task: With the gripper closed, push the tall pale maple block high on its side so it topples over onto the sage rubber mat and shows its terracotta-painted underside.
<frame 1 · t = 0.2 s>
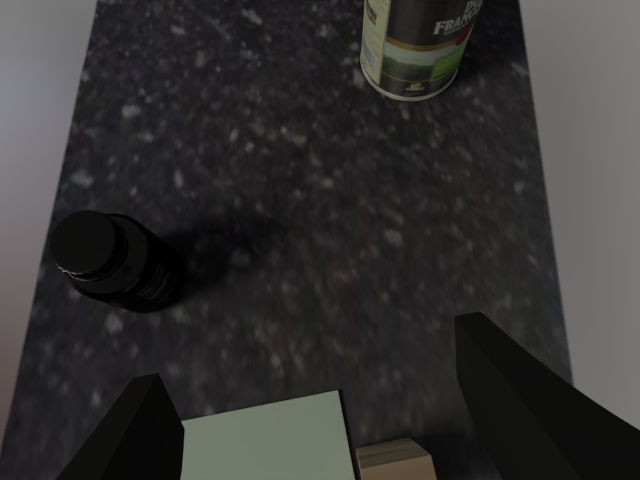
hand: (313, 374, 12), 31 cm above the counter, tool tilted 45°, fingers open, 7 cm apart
coffee can: (408, 60, 50), on the counter
maple block: (388, 471, 39), on the counter
supplement bottle: (150, 278, 45), on the counter
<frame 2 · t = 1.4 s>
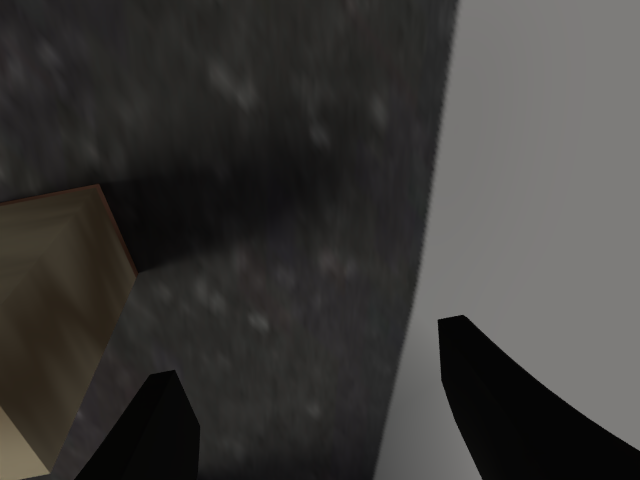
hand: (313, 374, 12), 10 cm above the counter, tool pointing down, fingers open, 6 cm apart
maple block: (68, 240, 21), on the counter
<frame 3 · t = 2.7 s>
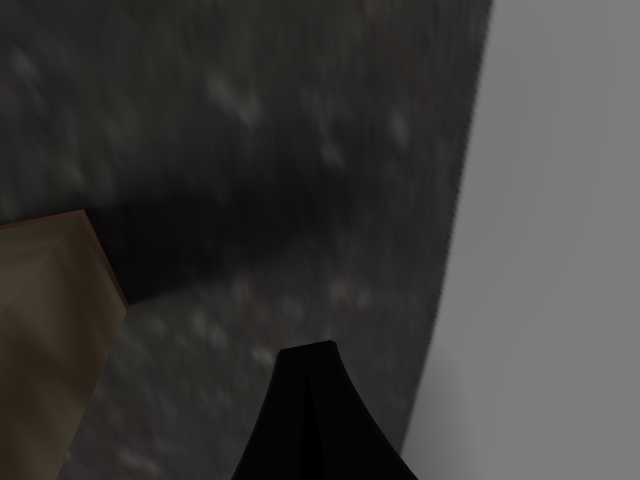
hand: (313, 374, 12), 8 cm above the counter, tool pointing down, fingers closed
maple block: (51, 271, 19), on the counter
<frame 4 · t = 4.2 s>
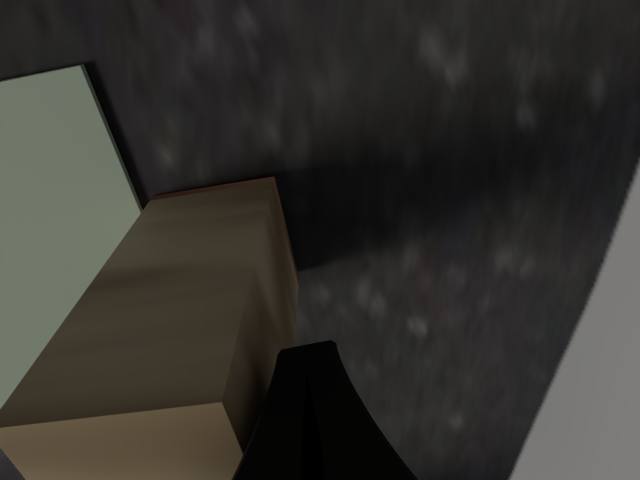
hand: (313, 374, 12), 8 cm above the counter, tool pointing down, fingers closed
maple block: (229, 239, 18), on the counter, tilted 6°
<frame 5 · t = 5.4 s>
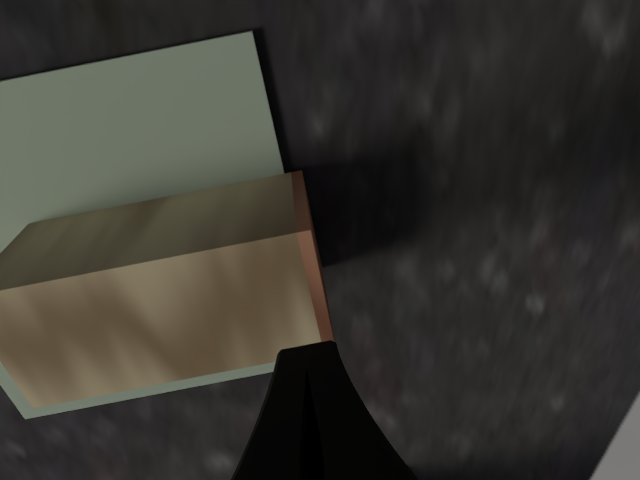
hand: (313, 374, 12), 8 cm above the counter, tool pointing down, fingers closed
maple block: (318, 255, 16), point 3 cm above the counter, tilted 90°, touching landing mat
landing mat: (118, 258, 19), on the counter
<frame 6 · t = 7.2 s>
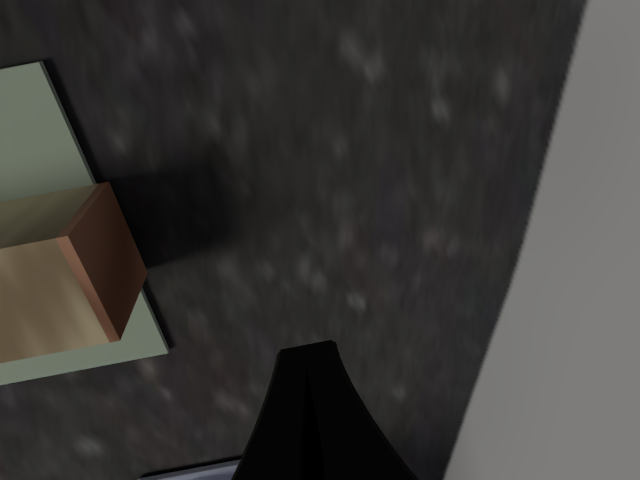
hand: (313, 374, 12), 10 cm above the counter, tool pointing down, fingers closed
maple block: (114, 257, 18), point 3 cm above the counter, tilted 90°, touching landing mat
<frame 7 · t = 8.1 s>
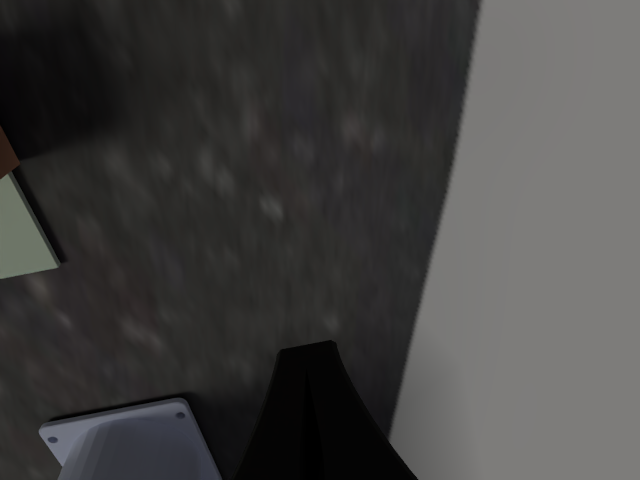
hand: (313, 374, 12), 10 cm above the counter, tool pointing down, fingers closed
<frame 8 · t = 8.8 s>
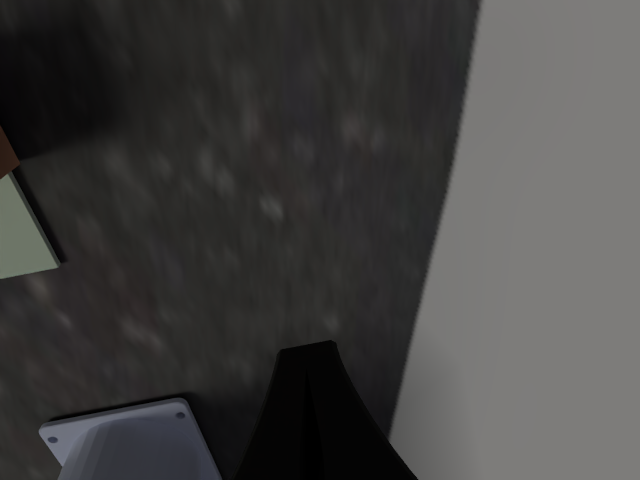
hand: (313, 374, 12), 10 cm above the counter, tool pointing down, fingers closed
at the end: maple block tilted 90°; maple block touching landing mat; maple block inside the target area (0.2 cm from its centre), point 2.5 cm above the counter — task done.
